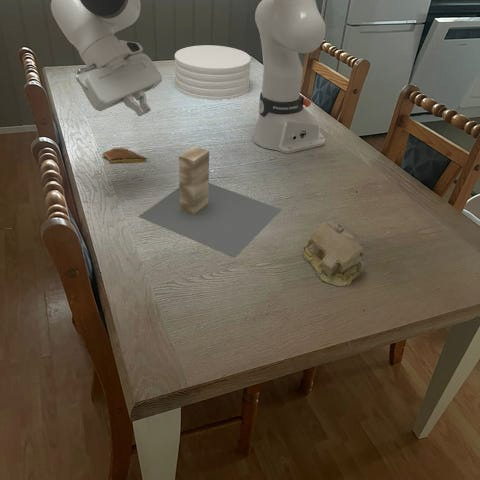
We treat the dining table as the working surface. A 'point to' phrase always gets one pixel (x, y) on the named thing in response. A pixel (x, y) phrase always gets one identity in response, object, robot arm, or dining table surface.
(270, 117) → the robot arm
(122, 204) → the dining table surface
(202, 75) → the plate stack
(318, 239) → the ceramic model
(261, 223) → the rubber mat
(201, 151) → the birch block
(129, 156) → the shard
